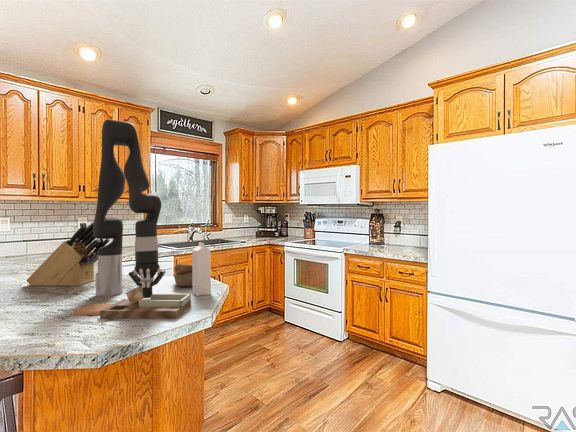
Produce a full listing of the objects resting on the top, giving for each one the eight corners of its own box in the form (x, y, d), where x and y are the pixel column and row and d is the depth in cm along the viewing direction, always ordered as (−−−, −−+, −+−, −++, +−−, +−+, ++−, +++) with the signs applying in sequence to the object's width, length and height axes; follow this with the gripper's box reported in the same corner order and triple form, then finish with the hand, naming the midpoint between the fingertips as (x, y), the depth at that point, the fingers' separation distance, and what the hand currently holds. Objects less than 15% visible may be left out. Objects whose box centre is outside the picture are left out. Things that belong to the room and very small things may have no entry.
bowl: (160, 286, 146) (160, 265, 146) (184, 281, 158) (184, 261, 158) (187, 291, 137) (187, 268, 137) (210, 285, 149) (209, 264, 149)
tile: (73, 314, 106) (73, 311, 106) (90, 306, 115) (90, 303, 115) (99, 314, 105) (99, 311, 105) (114, 306, 114) (114, 303, 114)
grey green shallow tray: (138, 306, 106) (138, 300, 106) (151, 299, 116) (151, 293, 116) (181, 306, 106) (181, 300, 106) (190, 299, 115) (190, 293, 115)
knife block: (98, 286, 147) (97, 221, 147) (25, 286, 148) (24, 222, 147) (112, 281, 158) (111, 221, 158) (44, 281, 159) (44, 221, 159)
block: (130, 304, 109) (125, 292, 109) (137, 300, 113) (132, 289, 113) (142, 299, 108) (136, 287, 109) (148, 295, 113) (143, 284, 113)
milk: (197, 296, 129) (196, 243, 129) (192, 293, 134) (191, 242, 134) (211, 293, 133) (210, 242, 132) (205, 290, 138) (205, 241, 137)
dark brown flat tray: (100, 318, 102) (99, 310, 102) (123, 305, 116) (123, 299, 116) (176, 318, 101) (176, 311, 101) (190, 305, 115) (190, 299, 115)
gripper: (122, 250, 107) (123, 300, 107) (160, 249, 107) (161, 299, 107) (133, 248, 115) (134, 295, 115) (169, 247, 114) (170, 294, 114)
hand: (147, 297), depth 111 cm, fingers closed
